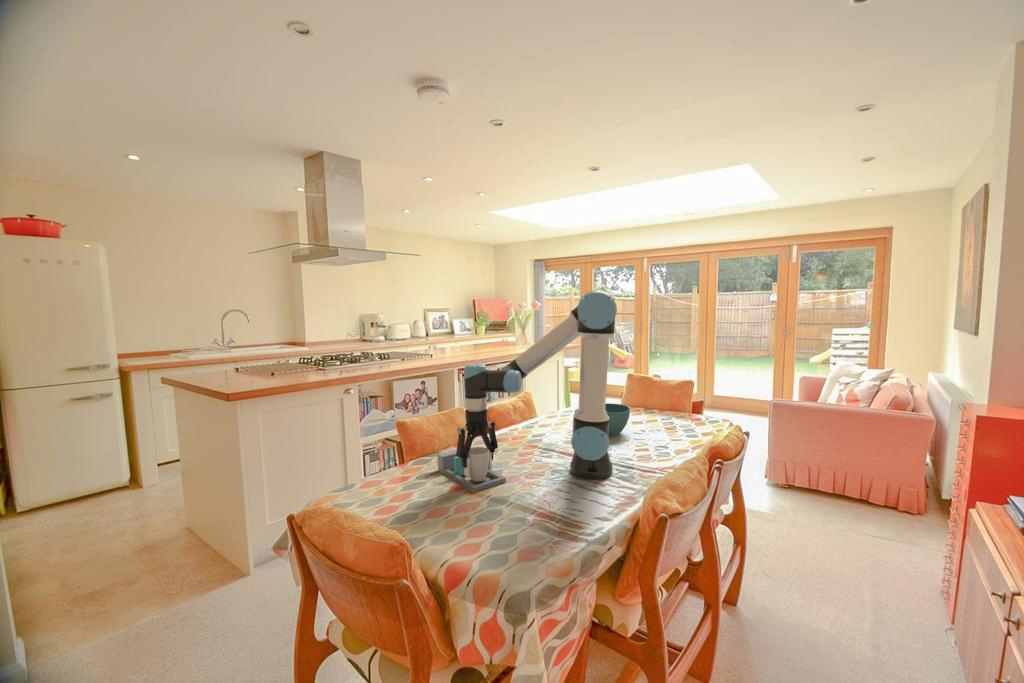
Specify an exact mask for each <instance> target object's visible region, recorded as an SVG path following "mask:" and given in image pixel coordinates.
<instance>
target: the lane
mask: <svg viewBox="0 0 1024 683" xmlns="http://www.w3.org/2000/svg"><path fill="white" fill-rule="evenodd" d="M456 452H457V448H456V449H451V450H449V451H445V452H441V453H437V470H438V471H440V472H441V473H442V474H444V475H446V476H447V477H449V478H450V479H452V480H453V481H455V482H456V483H458V484H460V485H461V486H463V487H464V488H466V489H467V490H469V491H471V492H472V493H476V491H477V492H480V491H482V489H483V490H485V489H488V488H492V487H495V486H499V485H501V484H505V483H506V482H507V478H506V477H505V476H503V475H502V474H499V473H497V472H496V471H493V469H492V470H491V471H490V470H488V471H487V475H486V476H489V477H490V478H492V480H488V481H484V482H481V483H479V484H474V483H472V482H471V481H469V480H467V479H466V478H463V477H462V475H460V476H459V475H457V474H456V473H455V467H454V457H457V456H456ZM479 490H480V491H479Z"/></svg>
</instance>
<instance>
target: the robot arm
mask: <svg viewBox="0 0 1024 683" xmlns="http://www.w3.org/2000/svg"><path fill="white" fill-rule="evenodd" d="M617 312H618V308H617V304H616V301H615V299H614V298H613V296H612V295H610V293H608V292H607V291H606V292H605V291H604V290H591V291H588V292H587V293H585V294H584V295H582V297H581V298H580V300H579V302H578V303H577V306H576V307H575V308H574V309H572V310H571V311H570V313H569V316H567V318H565V319H564V320H563V321H561V322H560V323H559V324H558V325H556V326H555V327H554V328H553V329H551V330H550V331H549V332H548V333H546V334H545V335H544V336H542V337H541V338H540V339H539V340H538V341H535V343H533V344H532V345H531V346H530V347H528V348H527V349H526V350H524V352H522V353H521V354H519V355H518V356H517V357H516V358H515V359H513V360H512V361H510V362H509V363H508V364H506V365H505V366H503V368H501V369H499V370H498V369H497V370H492V369H491V370H490V369H487V366H486V364H484V363H470V364H469V363H468V364H467V365H465V366H464V368H463V372H464V373H463V374H464V375H463V387H464V406H465V411H464V413H465V422H466V423H465V426H463V427H458V428H457V432H458V439H457V445H456V446H457V447H456V449H457V452H456V456H457V457H459V458H462V467H464V474H463V475H464V476H465V477H467V478H470V458H468V454H469V451H470V448H472V445H473V441H474V440H475V439H476V437H478V436H480V437H481V438H482V440H483V442H484V445H485V448H488V449H489V464H488V470H490V471H491V470H492V471H493V460H494V453H495V451H496V450H498V448H499V445H498V441H497V435H496V431H495V429H496V428H495V425H496V424H495V422H494V421H492V420H488V409H487V407H488V399H487V396H488V395H487V393H501V394H502V393H503V394H504V393H505V394H506V393H507V394H511V393H512V394H513V393H519V392H520V391H521V388H522V380H523V379H525V378H526V377H528V376H529V375H530V374H531V373H533V371H535V370H537V369H538V368H539V367H540V366H542V365H543V364H544V363H545V362H546V361H548V360H550V359H551V358H552V357H553V356H555V355H556V354H558V353H559V352H560V351H561V350H563V349H564V348H565V347H567V346H568V345H569V344H571V343H572V342H574V340H576V339H578V337H579V336H580V337H581V349H580V350H581V351H580V372H579V392H578V408H577V409H574V413H573V417H572V418H573V419H572V420H573V422H572V436H571V437H570V438H571V440H570V444H571V446H572V447H571V448H572V449H573V455H572V458H571V462H570V465H569V467H570V468H569V470H570V473H571V474H572V475H573V476H575V477H578V478H582V479H585V480H586V479H587V480H588V479H589V480H600V479H605V478H609V477H610V476H612V474H613V471H614V470H613V464H612V462H611V458H610V455H609V452H608V450H609V446H610V440H609V438H610V436H609V416H608V415H607V411H606V410H605V404H606V403H607V386H608V385H607V384H608V383H607V382H608V381H607V380H608V365H609V364H608V363H609V362H608V361H609V346H610V339H611V338H612V337H614V335H615V328H616V316H617ZM486 429H487V430H488V432H487V431H486Z"/></svg>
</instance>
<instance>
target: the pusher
mask: <svg viewBox="0 0 1024 683" xmlns="http://www.w3.org/2000/svg"><path fill="white" fill-rule="evenodd" d="M454 467H455V470H454V473H456V474H457V475H459V476H463V475H464V467H462V458H459V457H454Z"/></svg>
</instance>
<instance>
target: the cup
mask: <svg viewBox="0 0 1024 683" xmlns="http://www.w3.org/2000/svg"><path fill="white" fill-rule="evenodd" d="M468 458H470V477H469V478H470V480H471V481H473V482H483V481H485V480H486V479H487V478H486V477H487V476H488V475H487V471H488V464H489V449H488V448H487V447H484V446H476V447H471V448H470V451H469V454H468Z"/></svg>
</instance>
